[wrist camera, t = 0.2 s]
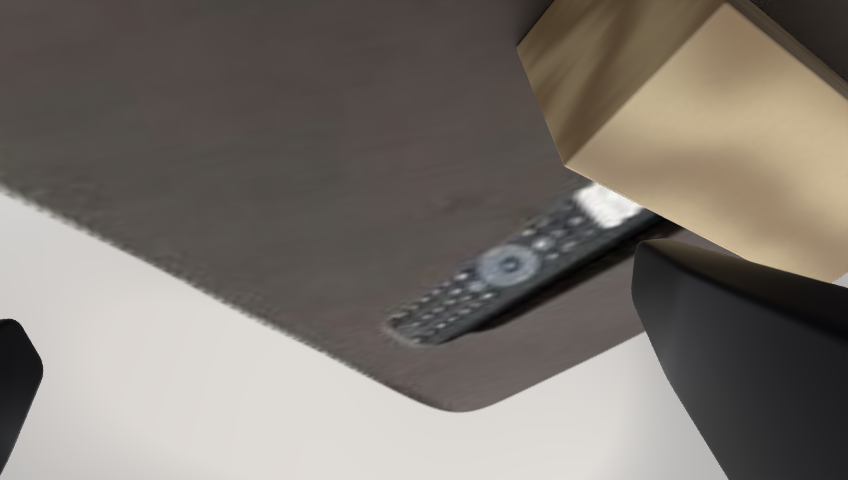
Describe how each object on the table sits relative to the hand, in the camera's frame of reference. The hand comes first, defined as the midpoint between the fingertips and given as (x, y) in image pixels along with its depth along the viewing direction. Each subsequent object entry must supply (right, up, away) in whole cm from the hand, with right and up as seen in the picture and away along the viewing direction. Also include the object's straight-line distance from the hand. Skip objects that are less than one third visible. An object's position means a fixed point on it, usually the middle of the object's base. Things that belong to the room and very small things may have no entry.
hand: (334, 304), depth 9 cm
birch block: (+12, +8, +16) cm, 22 cm away
